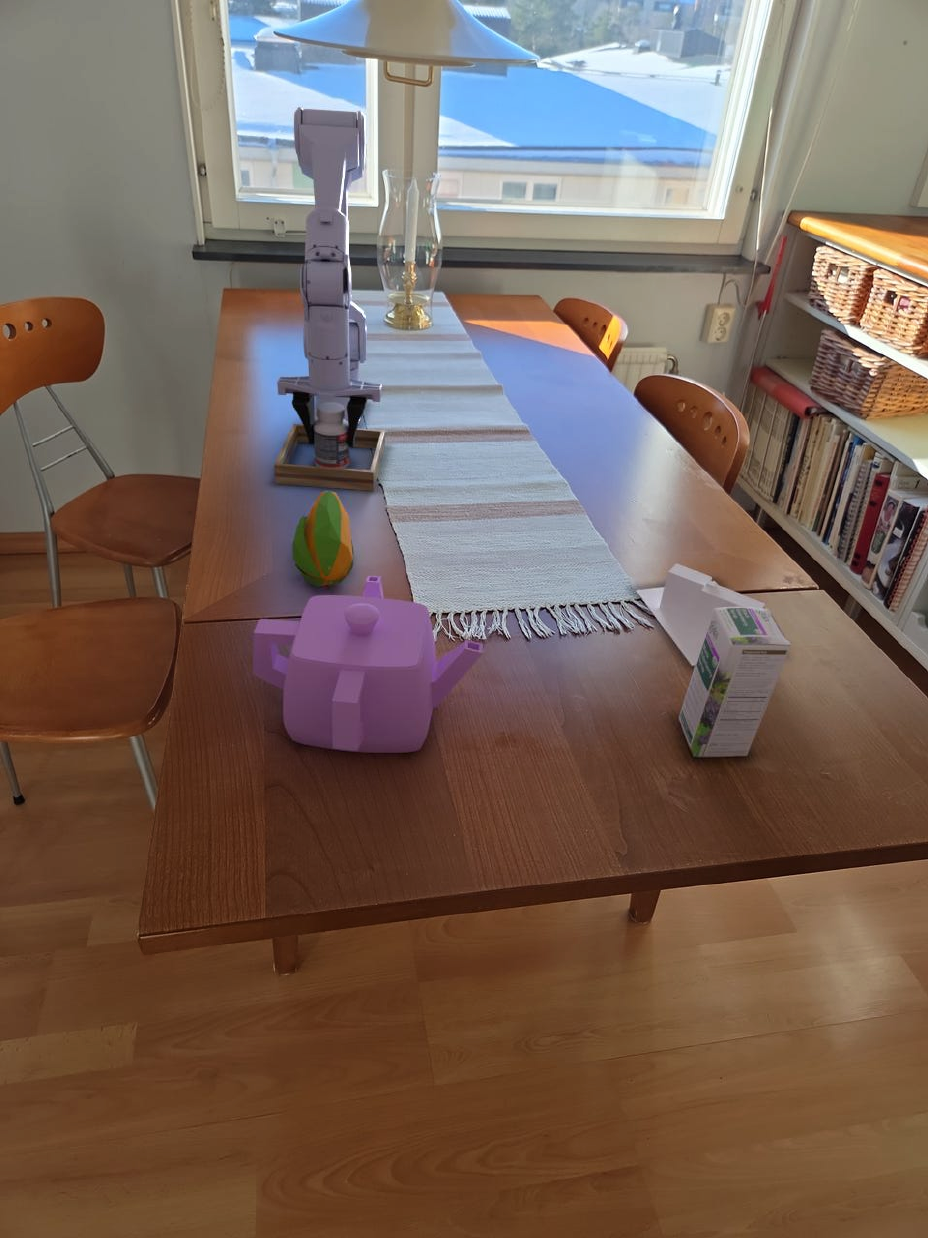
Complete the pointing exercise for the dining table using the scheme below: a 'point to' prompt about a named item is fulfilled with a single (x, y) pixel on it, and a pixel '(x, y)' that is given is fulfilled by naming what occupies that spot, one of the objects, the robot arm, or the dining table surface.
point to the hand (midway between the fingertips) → (331, 442)
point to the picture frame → (327, 474)
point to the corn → (324, 542)
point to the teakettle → (359, 671)
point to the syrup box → (732, 681)
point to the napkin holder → (690, 606)
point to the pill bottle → (331, 436)
